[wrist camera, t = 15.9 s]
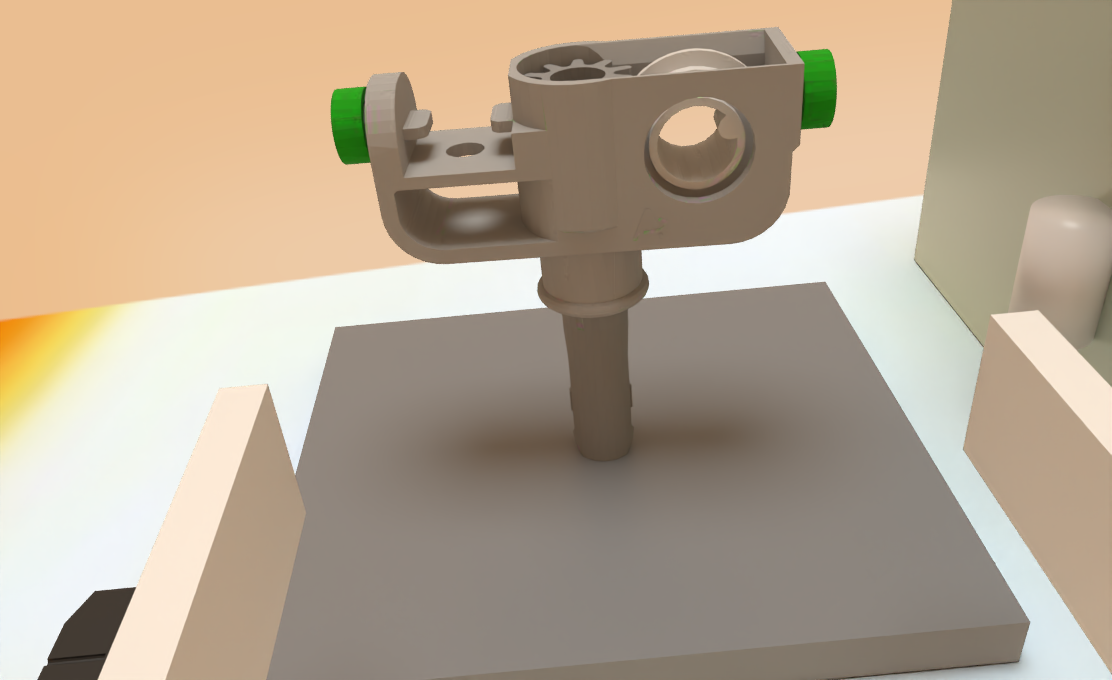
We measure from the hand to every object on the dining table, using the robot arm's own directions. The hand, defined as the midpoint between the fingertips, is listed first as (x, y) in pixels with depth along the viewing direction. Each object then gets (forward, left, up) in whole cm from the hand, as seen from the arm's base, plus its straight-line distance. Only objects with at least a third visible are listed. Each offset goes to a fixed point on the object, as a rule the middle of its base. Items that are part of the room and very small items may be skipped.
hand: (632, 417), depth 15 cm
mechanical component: (0, +7, -6) cm, 9 cm away
